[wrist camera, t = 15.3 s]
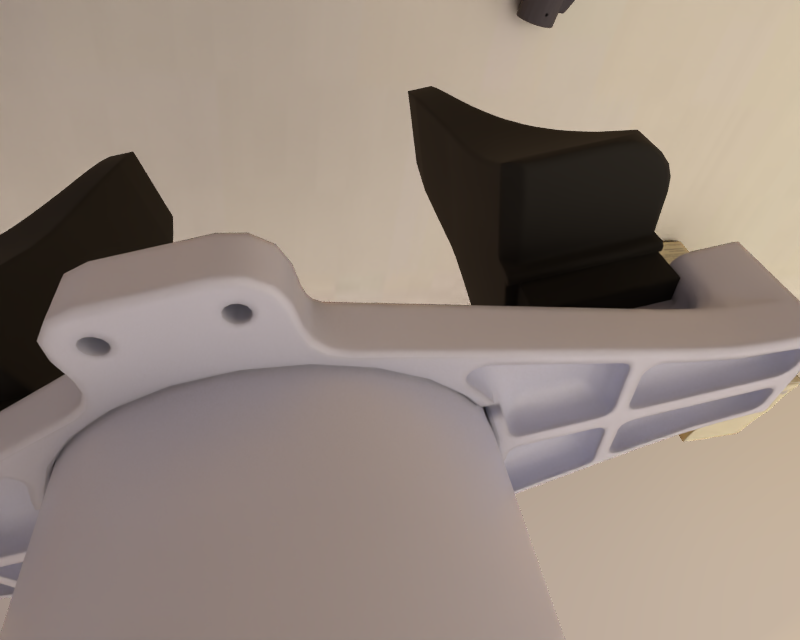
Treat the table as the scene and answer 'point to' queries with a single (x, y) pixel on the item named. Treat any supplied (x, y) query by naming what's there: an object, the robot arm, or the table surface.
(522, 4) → the bracket
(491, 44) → the table surface
